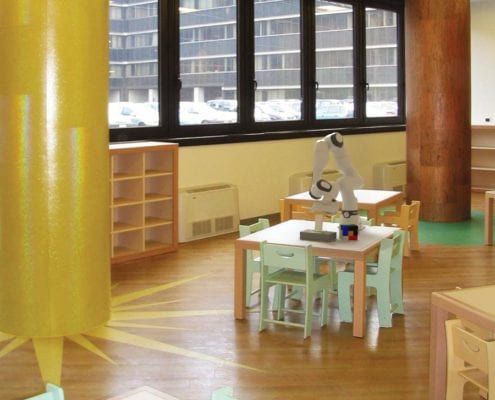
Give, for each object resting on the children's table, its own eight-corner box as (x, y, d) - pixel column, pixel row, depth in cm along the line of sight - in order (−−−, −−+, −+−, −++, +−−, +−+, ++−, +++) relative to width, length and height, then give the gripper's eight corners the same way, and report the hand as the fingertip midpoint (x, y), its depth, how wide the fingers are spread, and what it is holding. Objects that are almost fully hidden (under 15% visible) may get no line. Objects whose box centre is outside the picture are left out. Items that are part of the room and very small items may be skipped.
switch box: (307, 236, 578) (307, 228, 578) (336, 239, 567) (336, 231, 567) (299, 238, 568) (299, 231, 568) (328, 241, 557) (329, 234, 556)
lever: (315, 229, 570) (316, 211, 570) (323, 230, 567) (324, 211, 567) (313, 230, 568) (314, 210, 567) (321, 230, 564) (322, 211, 564)
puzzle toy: (343, 241, 561) (343, 226, 560) (339, 238, 571) (339, 224, 570) (357, 240, 563) (358, 225, 562) (353, 237, 573) (353, 223, 572)
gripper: (313, 198, 584) (306, 213, 577) (339, 200, 573) (332, 216, 566) (316, 204, 588) (309, 219, 582) (342, 206, 577) (335, 221, 570)
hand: (320, 217), depth 574 cm, fingers closed
